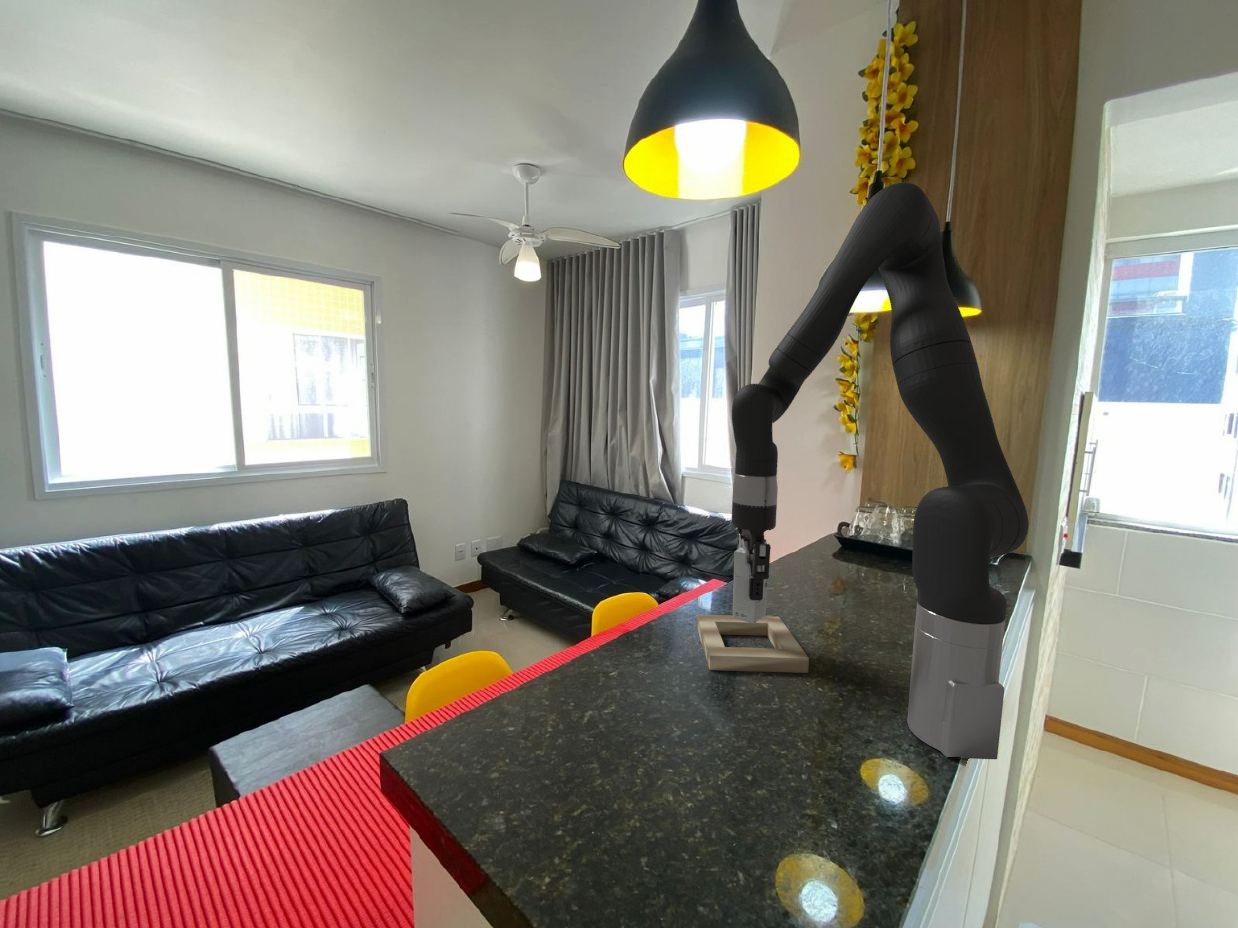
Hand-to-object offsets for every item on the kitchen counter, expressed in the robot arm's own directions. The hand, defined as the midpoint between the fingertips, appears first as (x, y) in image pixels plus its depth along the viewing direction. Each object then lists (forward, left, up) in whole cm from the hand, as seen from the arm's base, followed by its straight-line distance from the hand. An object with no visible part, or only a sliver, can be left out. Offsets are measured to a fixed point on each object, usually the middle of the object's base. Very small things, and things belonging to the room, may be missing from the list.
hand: (750, 590), depth 85 cm
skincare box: (0, 0, -5) cm, 5 cm away
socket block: (0, 0, -11) cm, 11 cm away
